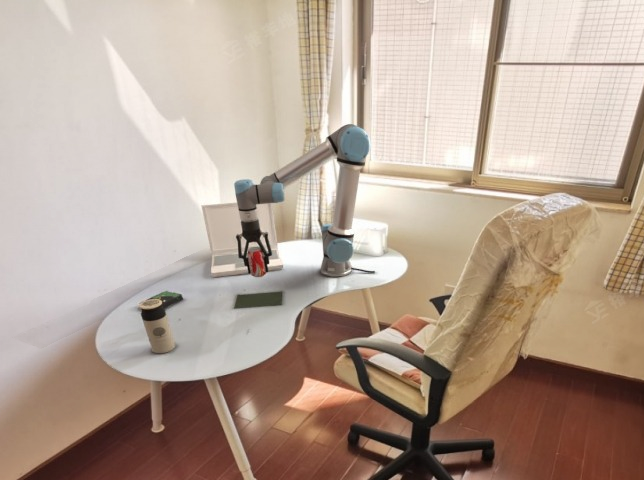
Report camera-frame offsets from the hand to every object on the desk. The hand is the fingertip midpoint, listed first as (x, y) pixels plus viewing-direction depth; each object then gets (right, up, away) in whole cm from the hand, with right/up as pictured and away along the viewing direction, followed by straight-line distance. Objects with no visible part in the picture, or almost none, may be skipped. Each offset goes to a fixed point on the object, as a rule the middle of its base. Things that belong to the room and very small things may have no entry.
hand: (258, 271), depth 205 cm
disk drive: (-41, -15, -5) cm, 44 cm away
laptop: (-13, +11, +32) cm, 36 cm away
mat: (+1, -13, -4) cm, 14 cm away
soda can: (0, -1, +1) cm, 2 cm away
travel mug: (-27, -37, -37) cm, 59 cm away
